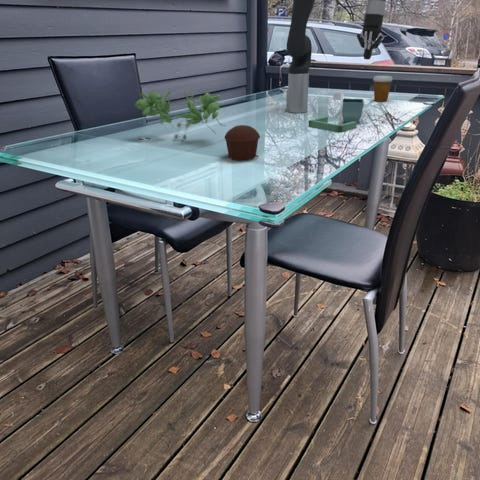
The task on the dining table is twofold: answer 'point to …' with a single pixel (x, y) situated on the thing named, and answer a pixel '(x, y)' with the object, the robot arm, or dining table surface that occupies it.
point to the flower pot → (352, 110)
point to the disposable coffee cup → (381, 88)
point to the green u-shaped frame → (323, 123)
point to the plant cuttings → (164, 108)
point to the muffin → (242, 142)
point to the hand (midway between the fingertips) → (366, 59)
